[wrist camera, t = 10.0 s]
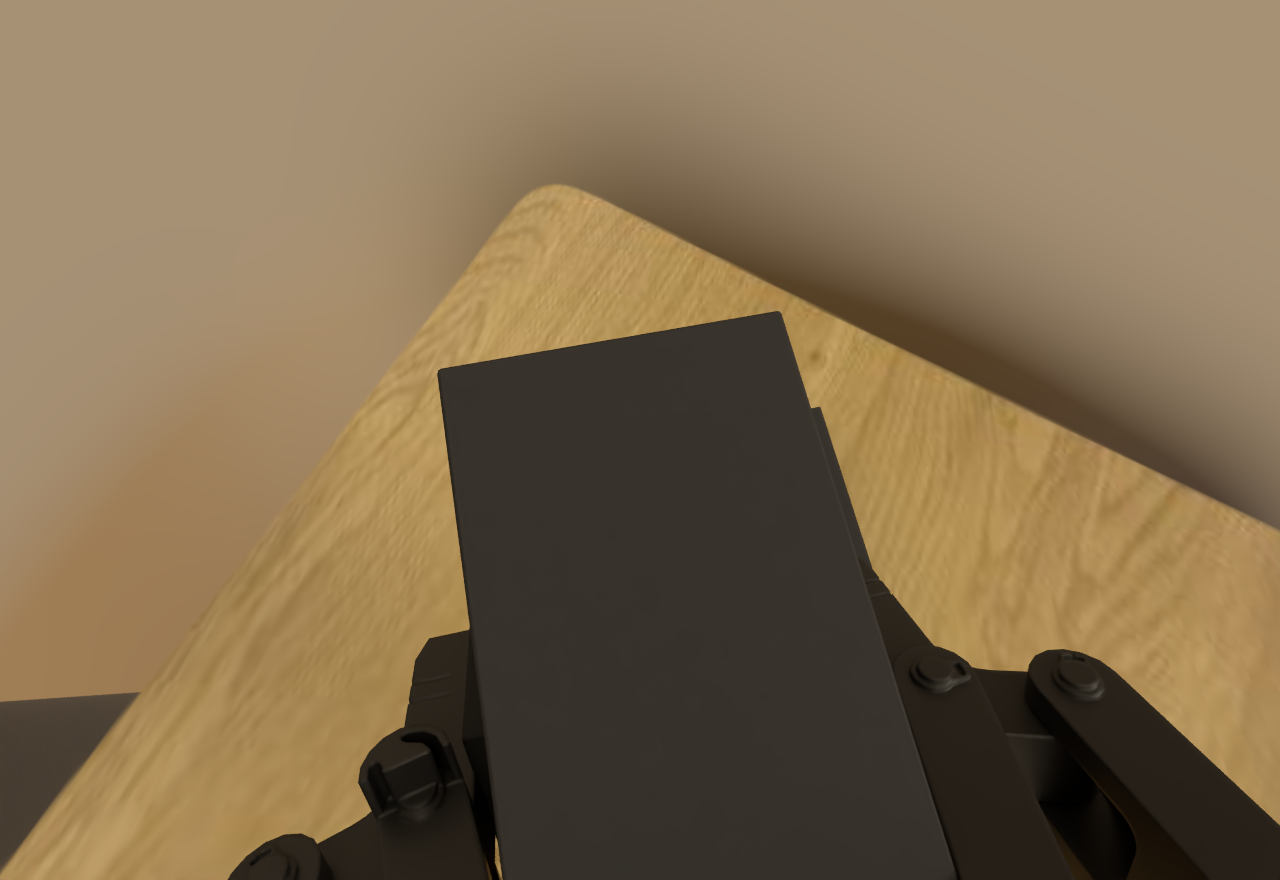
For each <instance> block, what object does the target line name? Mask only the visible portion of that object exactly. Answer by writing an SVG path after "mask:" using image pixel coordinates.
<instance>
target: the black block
mask: <svg viewBox="0 0 1280 880" xmlns="http://www.w3.org/2000/svg"><path fill="white" fill-rule="evenodd" d="M437 375H438V383H439V391H440V399H441V406H442V414H443V422H444V430H445V437H446V445H447V453H448V460H449V468H450V476H451V484H452V491H453V499H454V507H455V515H456V522H457V530H458V538H459V546H460V553H461V561H462V569H463V576H464V584H465V592H466V600H467V607H468V615H469V623H470V631H471V638H472V646H473V654H474V662H475V669H476V677H477V685H478V692H479V700H480V708H481V716H482V723H483V731H484V739H485V747H486V754H487V762H488V770H489V777H490V785H491V793H492V801H493V808H494V816H495V824H496V832H497V839H498V847H499V855H500V863H501V870H502V878H503V880H958V879H957V875H956V872H955V869H954V866H953V862H952V859H951V856H950V853H949V850H948V846H947V843H946V840H945V837H944V834H943V830H942V827H941V824H940V821H939V818H938V814H937V811H936V808H935V805H934V802H933V798H932V795H931V792H930V789H929V786H928V782H927V779H926V776H925V773H924V770H923V766H922V763H921V760H920V757H919V753H918V750H917V747H916V744H915V741H914V737H913V734H912V731H911V728H910V725H909V721H908V718H907V715H906V712H905V709H904V705H903V702H902V699H901V696H900V693H899V689H898V686H897V683H896V680H895V677H894V673H893V670H892V667H891V664H890V660H889V657H888V654H887V651H886V648H885V644H884V641H883V638H882V635H881V632H880V628H879V625H878V622H877V619H876V616H875V612H874V609H873V606H872V603H871V600H870V596H869V593H868V590H867V587H866V584H865V580H864V577H863V574H862V571H861V568H860V564H859V561H858V558H857V555H856V551H855V548H854V545H853V542H852V539H851V535H850V532H849V529H848V526H847V523H846V519H845V516H844V513H843V510H842V507H841V503H840V500H839V497H838V494H837V491H836V487H835V484H834V481H833V478H832V475H831V471H830V468H829V465H828V462H827V458H826V455H825V452H824V449H823V446H822V442H821V439H820V436H819V433H818V430H817V426H816V423H815V420H814V417H813V414H812V410H811V407H810V404H809V401H808V398H807V394H806V391H805V388H804V385H803V382H802V378H801V375H800V372H799V369H798V365H797V362H796V359H795V356H794V353H793V349H792V346H791V343H790V340H789V337H788V333H787V330H786V327H785V324H784V321H783V317H782V314H781V313H780V312H779V311H775V312H770V313H764V314H758V315H752V316H746V317H740V318H735V319H729V320H723V321H717V322H711V323H705V324H700V325H694V326H688V327H682V328H676V329H670V330H665V331H659V332H653V333H647V334H641V335H635V336H630V337H624V338H618V339H612V340H606V341H600V342H595V343H589V344H583V345H577V346H571V347H565V348H560V349H554V350H548V351H542V352H536V353H530V354H525V355H519V356H513V357H507V358H501V359H495V360H490V361H484V362H478V363H472V364H466V365H460V366H455V367H449V368H443V369H440V370H438V374H437Z"/></svg>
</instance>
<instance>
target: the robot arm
mask: <svg viewBox="0 0 1280 880" xmlns="http://www.w3.org/2000/svg"><path fill="white" fill-rule="evenodd" d="M857 558H858V561H859V564H860V568H861V571H862V574H863V577H864V580H865V584H866V587H867V590H868V593H869V596H870V600H871V603H872V606H873V609H874V612H875V616H876V619H877V622H878V625H879V628H880V632H881V635H882V638H883V641H884V644H885V648H886V651H887V654H888V657H889V660H890V664H891V667H892V670H893V673H894V677H895V680H896V683H897V686H898V689H899V693H900V696H901V699H902V702H903V705H904V709H905V712H906V715H907V718H908V721H909V725H910V728H911V731H912V734H913V737H914V741H915V744H916V747H917V750H918V753H919V757H920V760H921V763H922V766H923V770H924V773H925V776H926V779H927V782H928V786H929V789H930V792H931V795H932V798H933V802H934V805H935V808H936V811H937V814H938V818H939V821H940V824H941V827H942V830H943V834H944V837H945V840H946V843H947V846H948V850H949V853H950V856H951V859H952V862H953V866H954V869H955V872H956V875H957V879H958V880H1280V825H1279V824H1278V823H1276V822H1275V821H1274V820H1273V819H1272V818H1271V817H1270V816H1269V815H1268V814H1267V813H1266V812H1265V811H1264V810H1263V809H1262V808H1260V807H1259V806H1258V805H1257V804H1256V803H1255V802H1254V801H1253V800H1252V799H1251V798H1250V797H1249V796H1248V795H1247V794H1245V793H1244V792H1243V791H1242V790H1241V789H1240V788H1239V787H1238V786H1237V785H1236V784H1235V783H1234V782H1233V781H1232V780H1231V779H1229V778H1228V777H1227V776H1226V775H1225V774H1224V773H1223V772H1222V771H1221V770H1220V769H1219V768H1218V767H1217V766H1216V765H1214V764H1213V763H1212V762H1211V761H1210V760H1209V759H1208V758H1207V757H1206V756H1205V755H1204V754H1203V753H1202V752H1201V751H1200V750H1198V749H1197V748H1196V747H1195V746H1194V745H1193V744H1192V743H1191V742H1190V741H1189V740H1188V739H1187V738H1186V737H1185V736H1183V735H1182V734H1181V733H1180V732H1179V731H1178V730H1177V729H1176V728H1175V727H1174V726H1173V725H1172V724H1171V723H1170V722H1169V721H1167V720H1166V719H1165V718H1164V717H1163V716H1162V715H1161V714H1160V713H1159V712H1158V711H1157V710H1156V709H1155V708H1154V707H1153V706H1151V705H1150V704H1149V703H1148V702H1147V701H1146V700H1145V699H1144V698H1143V697H1142V696H1141V695H1140V694H1139V693H1138V692H1136V691H1135V690H1134V689H1133V688H1132V687H1131V686H1130V685H1129V684H1128V683H1127V682H1126V681H1125V680H1124V679H1123V678H1122V677H1120V676H1119V675H1118V674H1117V673H1116V672H1115V671H1114V670H1112V669H1111V668H1110V667H1108V666H1107V665H1105V664H1104V663H1103V662H1101V661H1100V660H1098V659H1095V658H1093V657H1090V656H1088V655H1086V654H1083V653H1080V652H1075V651H1070V650H1065V649H1059V650H1047V651H1044V652H1042V653H1040V654H1038V655H1035V657H1034V658H1033V660H1032V661H1031V663H1030V664H1029V668H1028V672H1021V671H997V670H985V669H977V668H973V667H971V666H970V664H969V663H968V662H967V661H965V660H964V659H963V658H961V657H960V656H958V655H957V654H955V653H954V652H951V651H948V650H946V649H943V648H940V647H936V646H934V645H933V644H932V643H931V642H930V641H929V639H928V638H927V637H926V636H925V634H924V633H923V632H922V631H921V629H920V628H919V627H918V626H917V624H916V623H915V622H914V621H913V619H912V618H911V617H910V616H909V614H908V613H907V612H906V611H905V609H904V608H903V607H902V606H901V604H900V603H899V602H898V601H897V599H896V598H895V597H894V596H893V594H892V595H891V594H890V591H889V589H888V588H887V587H886V586H885V584H884V583H883V582H882V581H880V580H879V577H878V576H877V574H876V573H875V572H874V571H873V569H872V568H871V567H870V566H869V564H868V563H867V562H866V561H865V560H863V559H862V558H860V557H858V556H857ZM358 783H359V785H360V787H361V789H362V792H363V794H364V796H365V798H366V800H367V802H368V804H369V806H370V808H371V810H372V811H371V812H370V813H369V814H368V815H367V816H366V817H364V818H363V819H361V820H360V821H358V822H356V823H355V824H353V825H352V826H350V827H348V828H346V829H344V830H343V831H341V832H339V833H337V834H335V835H333V836H331V837H330V838H328V839H326V840H324V841H322V842H320V843H318V844H316V842H315V840H314V839H313V838H310V837H308V836H306V835H303V834H287V835H282V836H280V837H278V838H275V839H273V840H270V841H268V842H265V843H264V844H263V845H261V846H260V847H259V848H257V849H256V850H254V851H253V852H252V853H250V854H249V855H248V856H246V857H245V859H244V860H243V861H242V862H241V863H240V864H239V865H238V867H237V868H236V869H235V870H234V871H233V872H232V873H231V875H230V877H229V879H228V880H501V878H500V875H499V872H498V870H497V867H496V864H495V835H496V838H497V832H496V824H495V816H494V808H493V801H492V793H491V785H490V777H489V770H488V762H487V754H486V747H485V739H484V731H483V723H482V716H481V708H480V700H479V692H478V685H477V677H476V669H475V662H474V654H473V646H472V638H471V631H470V629H469V630H467V631H462V632H457V633H453V634H448V635H443V636H439V637H434V638H429V640H428V641H427V643H426V644H425V646H424V647H423V649H422V651H421V652H420V654H419V655H418V657H417V658H416V660H415V666H414V672H413V678H412V686H411V690H410V696H409V704H408V708H407V714H406V720H405V726H404V728H400V729H398V730H396V731H395V732H393V733H391V734H390V735H388V736H386V737H384V738H383V739H382V740H381V741H380V742H379V743H378V744H377V745H376V746H375V747H374V748H373V749H372V750H371V751H370V752H369V753H368V755H367V757H366V759H365V760H364V762H363V764H362V766H361V768H360V774H359V781H358ZM497 841H498V839H497Z"/></svg>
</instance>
